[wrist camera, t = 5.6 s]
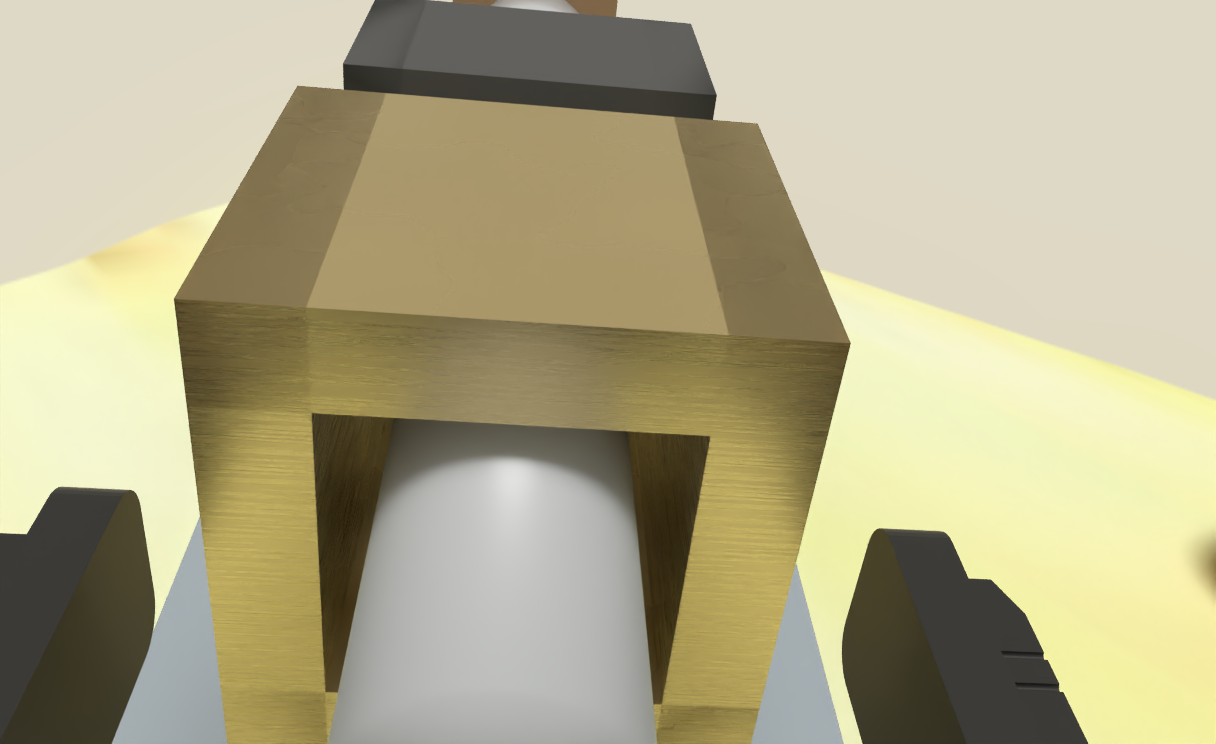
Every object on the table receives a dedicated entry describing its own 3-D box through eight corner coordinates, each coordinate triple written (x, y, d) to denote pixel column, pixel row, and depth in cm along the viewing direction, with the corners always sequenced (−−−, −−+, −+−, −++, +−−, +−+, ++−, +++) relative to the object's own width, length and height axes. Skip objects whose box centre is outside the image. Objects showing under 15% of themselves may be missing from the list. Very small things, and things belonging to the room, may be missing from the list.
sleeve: (694, 480, 20) (757, 123, 16) (744, 773, 14) (849, 343, 11) (315, 460, 19) (297, 85, 16) (228, 756, 14) (174, 298, 10)
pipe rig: (725, 331, 38) (819, -195, 29) (961, 1277, 16) (1598, 279, 7) (296, 302, 37) (266, -255, 28) (-87, 1285, 15) (-739, 102, 6)
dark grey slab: (653, 295, 24) (691, 23, 21) (669, 399, 21) (716, 95, 18) (379, 276, 24) (377, -5, 21) (351, 380, 21) (343, 63, 17)
